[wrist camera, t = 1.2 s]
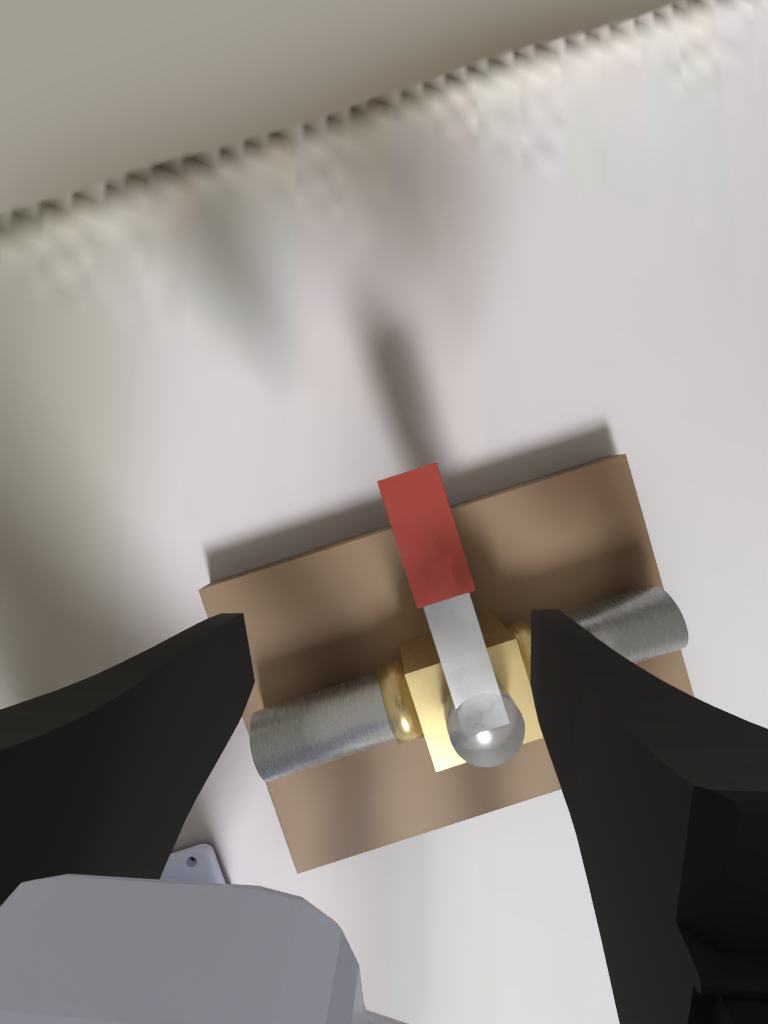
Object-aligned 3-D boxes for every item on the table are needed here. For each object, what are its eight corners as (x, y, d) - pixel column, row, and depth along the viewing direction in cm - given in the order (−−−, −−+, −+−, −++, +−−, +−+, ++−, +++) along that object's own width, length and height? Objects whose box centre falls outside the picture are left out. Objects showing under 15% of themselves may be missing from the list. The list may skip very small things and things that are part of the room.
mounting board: (302, 849, 24) (297, 873, 22) (210, 583, 23) (198, 590, 21) (685, 725, 24) (706, 742, 22) (608, 455, 23) (625, 454, 21)
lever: (521, 732, 18) (536, 757, 16) (455, 753, 18) (463, 780, 16) (438, 461, 17) (444, 459, 15) (368, 483, 17) (368, 484, 15)
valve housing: (284, 765, 22) (265, 826, 18) (256, 685, 22) (231, 729, 18) (655, 647, 22) (715, 682, 18) (632, 565, 22) (688, 583, 18)
